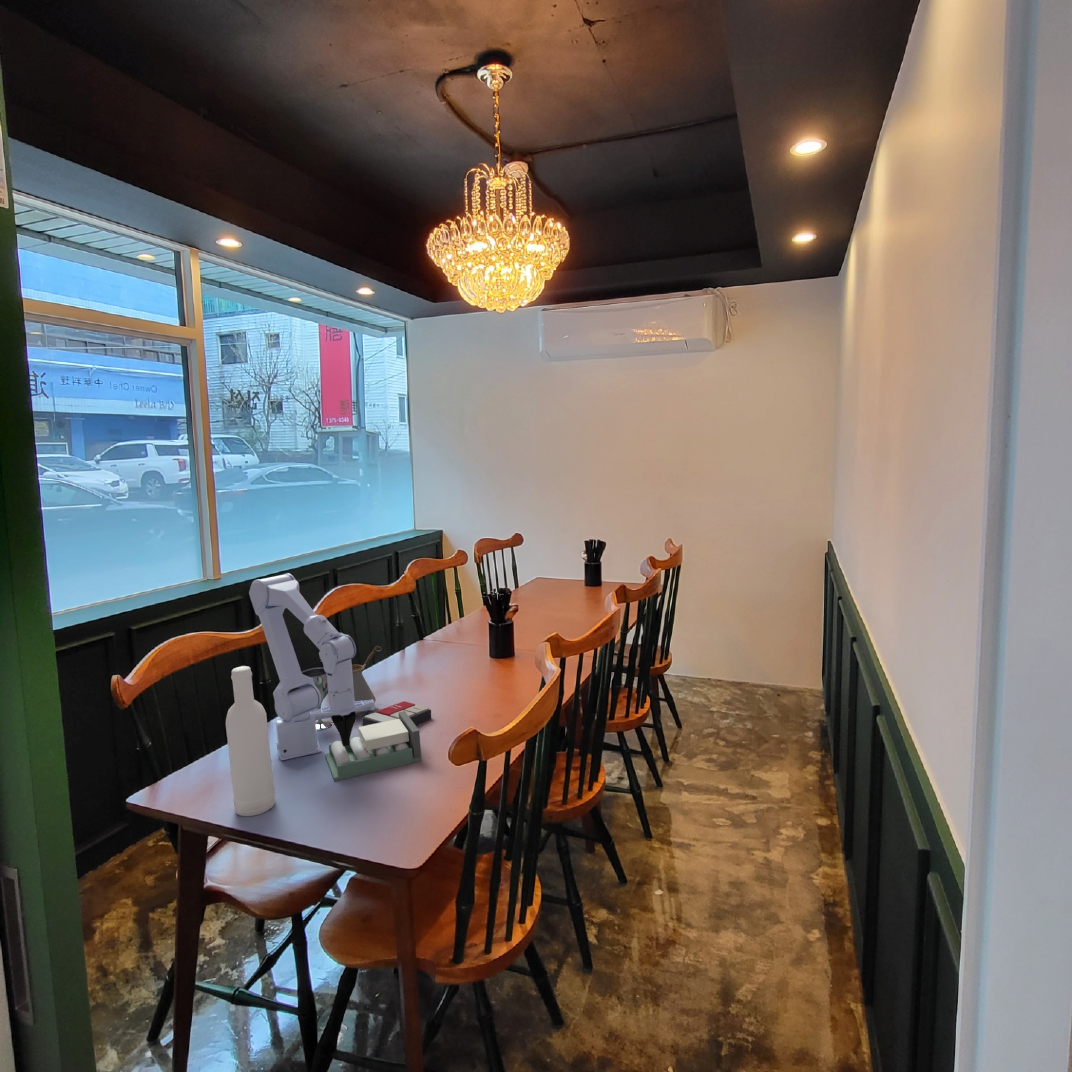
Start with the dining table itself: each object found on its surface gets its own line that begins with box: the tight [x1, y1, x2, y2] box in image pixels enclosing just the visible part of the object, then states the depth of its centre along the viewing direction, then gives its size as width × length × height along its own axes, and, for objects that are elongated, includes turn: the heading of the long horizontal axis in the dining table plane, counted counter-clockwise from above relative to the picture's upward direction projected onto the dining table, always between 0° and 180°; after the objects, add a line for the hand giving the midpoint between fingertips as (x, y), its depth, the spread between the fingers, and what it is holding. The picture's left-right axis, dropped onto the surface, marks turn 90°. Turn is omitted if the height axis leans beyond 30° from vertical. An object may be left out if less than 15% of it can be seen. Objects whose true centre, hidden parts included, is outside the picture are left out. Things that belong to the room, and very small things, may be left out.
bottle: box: [225, 665, 276, 817], centre depth 139 cm, size 8×8×30 cm
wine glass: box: [301, 666, 333, 730], centre depth 182 cm, size 8×8×15 cm
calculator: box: [362, 700, 432, 727], centre depth 181 cm, size 11×4×15 cm
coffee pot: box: [352, 645, 383, 717], centre depth 195 cm, size 21×12×15 cm, turn 164°
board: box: [358, 719, 409, 751], centre depth 162 cm, size 10×9×2 cm
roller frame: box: [324, 711, 422, 782], centre depth 161 cm, size 20×14×7 cm
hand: (345, 744), depth 158 cm, fingers closed
